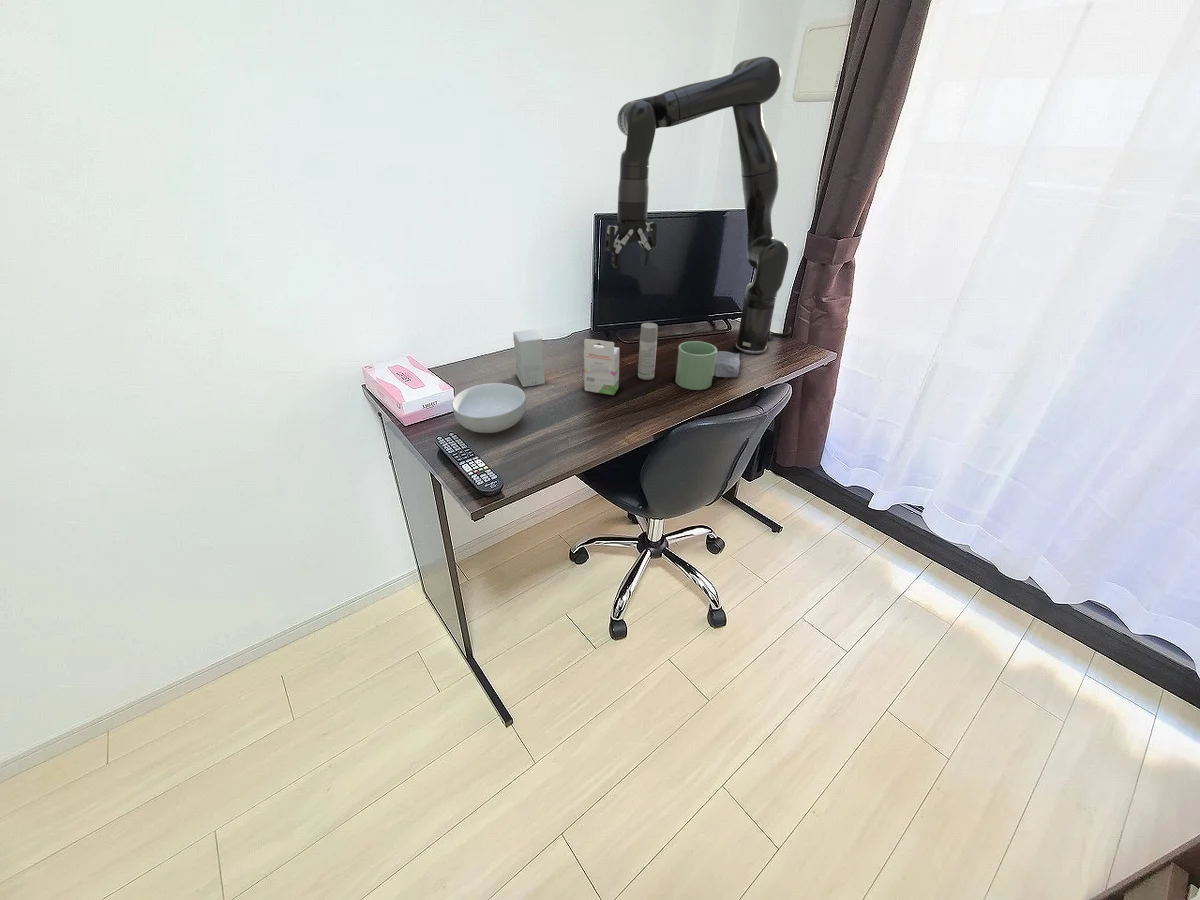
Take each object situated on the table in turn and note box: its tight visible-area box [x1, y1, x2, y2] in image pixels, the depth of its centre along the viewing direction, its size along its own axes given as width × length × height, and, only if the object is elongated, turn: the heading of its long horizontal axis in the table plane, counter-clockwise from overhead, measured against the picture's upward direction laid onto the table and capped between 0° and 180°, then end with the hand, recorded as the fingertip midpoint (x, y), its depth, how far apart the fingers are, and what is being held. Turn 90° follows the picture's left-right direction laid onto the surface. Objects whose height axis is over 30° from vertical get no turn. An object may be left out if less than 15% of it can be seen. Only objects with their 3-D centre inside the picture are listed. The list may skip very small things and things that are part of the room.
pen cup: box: [674, 340, 718, 391], centre depth 137 cm, size 10×10×10 cm
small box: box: [513, 329, 546, 388], centre depth 136 cm, size 8×6×13 cm
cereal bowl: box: [451, 382, 527, 434], centre depth 117 cm, size 17×17×7 cm
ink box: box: [583, 338, 621, 396], centre depth 131 cm, size 9×5×15 cm, turn 71°
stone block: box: [713, 350, 741, 379], centre depth 146 cm, size 12×5×10 cm
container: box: [637, 322, 659, 381], centre depth 138 cm, size 5×5×15 cm
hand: (630, 266), depth 133 cm, fingers open, 8 cm apart
